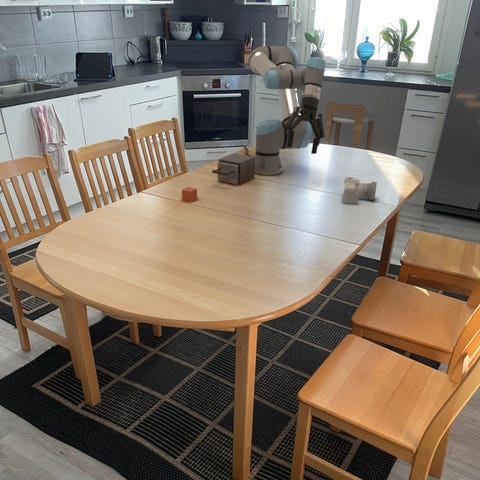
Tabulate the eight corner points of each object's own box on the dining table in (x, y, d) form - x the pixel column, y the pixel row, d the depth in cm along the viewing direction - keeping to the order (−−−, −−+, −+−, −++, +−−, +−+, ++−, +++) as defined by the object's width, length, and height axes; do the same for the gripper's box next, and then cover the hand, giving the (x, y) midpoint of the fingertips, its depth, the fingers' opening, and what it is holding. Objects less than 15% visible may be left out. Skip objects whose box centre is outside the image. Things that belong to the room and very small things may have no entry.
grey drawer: (229, 187, 217) (229, 169, 212) (210, 183, 221) (209, 165, 216) (250, 177, 230) (251, 159, 226) (231, 173, 234) (232, 156, 230)
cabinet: (239, 185, 223) (240, 163, 217) (218, 180, 227) (218, 159, 222) (254, 178, 232) (255, 156, 227) (233, 174, 237) (234, 153, 232)
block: (182, 200, 204) (181, 189, 202) (188, 197, 207) (188, 186, 205) (190, 202, 202) (190, 191, 200) (197, 199, 206) (196, 188, 203)
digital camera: (368, 215, 204) (372, 194, 197) (335, 208, 209) (338, 187, 201) (377, 195, 215) (381, 174, 208) (346, 189, 219) (348, 168, 212)
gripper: (292, 89, 198) (283, 143, 202) (338, 104, 211) (329, 155, 216) (281, 91, 204) (273, 144, 208) (326, 106, 217) (318, 156, 222)
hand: (301, 150), depth 212 cm, fingers open, 13 cm apart
